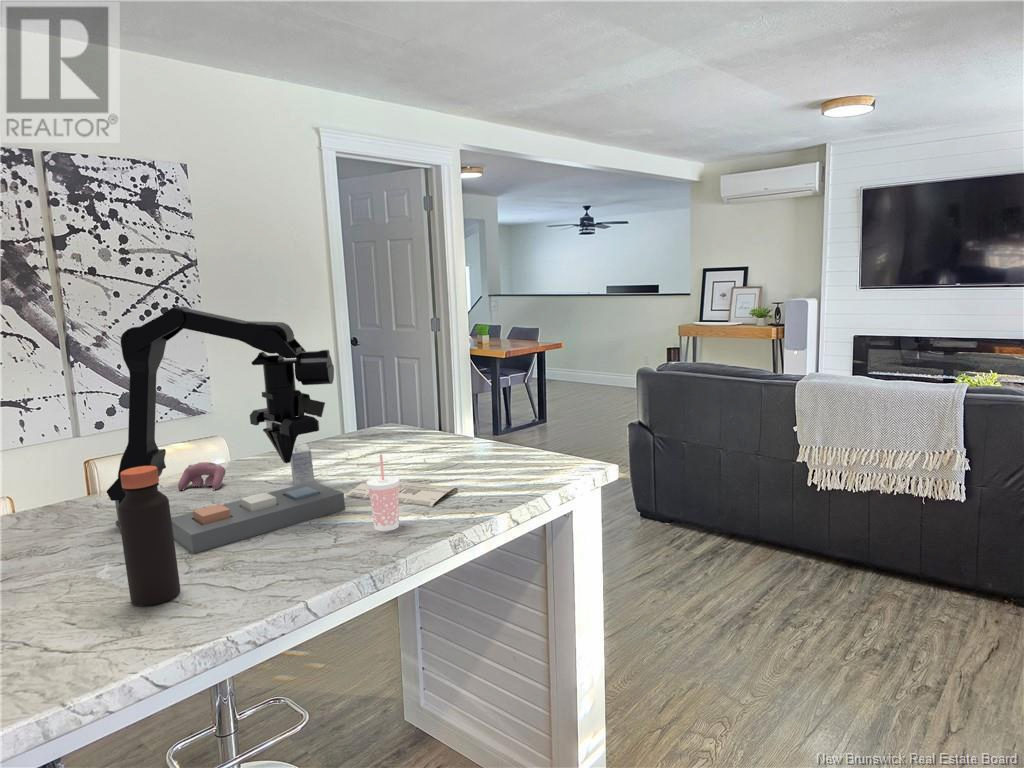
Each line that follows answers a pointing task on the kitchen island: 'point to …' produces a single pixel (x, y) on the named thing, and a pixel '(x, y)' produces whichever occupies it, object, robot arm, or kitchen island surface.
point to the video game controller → (198, 470)
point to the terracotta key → (211, 514)
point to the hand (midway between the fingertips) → (287, 462)
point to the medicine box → (302, 465)
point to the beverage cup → (384, 501)
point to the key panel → (256, 518)
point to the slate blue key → (301, 493)
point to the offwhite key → (258, 502)
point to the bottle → (147, 538)
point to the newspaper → (409, 493)
